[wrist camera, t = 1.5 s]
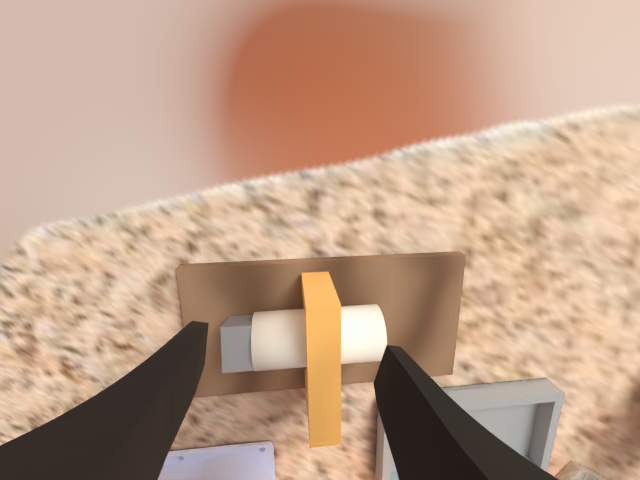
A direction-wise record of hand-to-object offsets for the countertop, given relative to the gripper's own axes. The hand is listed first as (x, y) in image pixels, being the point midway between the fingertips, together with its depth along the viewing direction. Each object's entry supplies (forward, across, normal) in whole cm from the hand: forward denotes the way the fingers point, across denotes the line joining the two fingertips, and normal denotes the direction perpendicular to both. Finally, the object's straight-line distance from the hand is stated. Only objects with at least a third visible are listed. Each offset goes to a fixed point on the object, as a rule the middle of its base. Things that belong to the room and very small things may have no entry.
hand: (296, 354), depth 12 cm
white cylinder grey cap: (+10, -3, +6) cm, 12 cm away
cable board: (+11, -4, +6) cm, 13 cm away
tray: (+10, -19, +15) cm, 26 cm away
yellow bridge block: (+10, -3, +6) cm, 12 cm away
